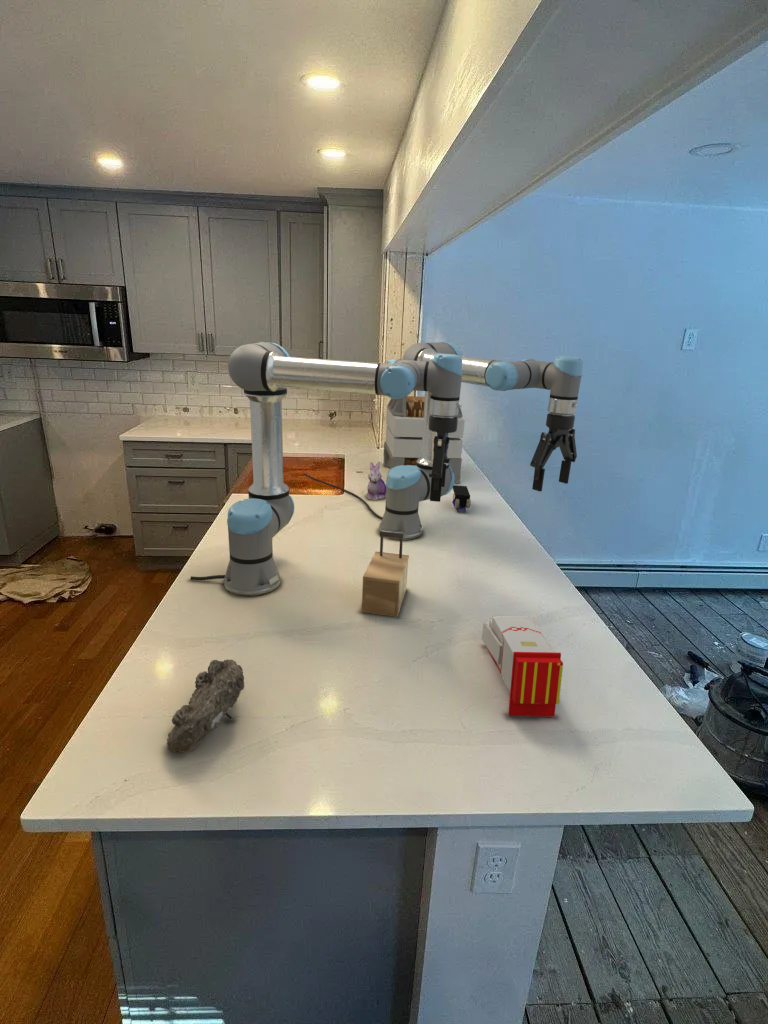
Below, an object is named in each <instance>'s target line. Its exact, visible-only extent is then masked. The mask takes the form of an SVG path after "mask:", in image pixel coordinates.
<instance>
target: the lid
mask: <svg viewBox="0 0 768 1024" xmlns="http://www.w3.org/2000/svg"><path fill="white" fill-rule="evenodd" d="M379 537H380V538H379V539H380V541H379V543H380V544H379V551H374V554H373V556H372V558H371V560H370V561H369V564H368V566H367V568H366V570H365V572H364V573H363V576H362V580H363V579H364V580H372V581H380V582H388V583H396V584H400V581H401V578H402V575H403V572H404V570H405V567H406V564H407V561H408V562H409V557H410V555H409V554H403V545H404V544H403V543H404V540H403V538H404V532H400V531H390V530H380V532H379ZM384 538H387V539H390V538H395V539H400V540H399V551H398V553H393V552H384ZM395 539H394V540H395Z"/></svg>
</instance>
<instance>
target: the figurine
mask: <svg viewBox="0 0 768 1024" xmlns="http://www.w3.org/2000/svg"><path fill="white" fill-rule="evenodd" d="M381 463H382V462H381V461H378V462H376V464H375V465H374V463H373V462H372V461H371V462H370V463H369V473H368V476H367V477H368V480H369V481H368V483H367V493H366V497H367V499H368V500H371V501H377V500H382V499H383V500H384V499H386V481H384V480H383V479H382V477H383V475H382V473H381V471H380V469H381V465H382V464H381Z"/></svg>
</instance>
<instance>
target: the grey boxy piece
mask: <svg viewBox="0 0 768 1024" xmlns="http://www.w3.org/2000/svg"><path fill="white" fill-rule="evenodd" d="M424 401H425V396H415V395H414V396H413V395H412V396H411V395H408V396H406V397H404V398H401V399H393V398H390V400H389V402H388V404H387V405H386V413H385V414H386V415H385V423H386V428H385V438H384V442H383V466H384V467H388V468H389V470H390V469H392V468H394V467H396V466H401V465H404V466H405V465H413V466H416V462H417V460H418V459H419V458H420V457H421V451H422V434H423V418H424ZM458 404H460V402H459V403H458ZM458 409H459V410H458V415H457V416H456V417H457V418H458V424H457V431H456V432H453V433H448V437H450V440H449V446H448V449H447V460H449V466H450V467H451V468H452V470H453V471H452V472H453V473H454V478H455V480H454V484H455V483H456V484H459V483H461V472H462V461H463V460H462V453H463V442H464V441H463V440H462V439H463V438H464V431H465V430H464V429H465V419H464V418H463V411H462V407H460V408H458Z"/></svg>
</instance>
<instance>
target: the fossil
mask: <svg viewBox="0 0 768 1024" xmlns="http://www.w3.org/2000/svg"><path fill="white" fill-rule="evenodd" d="M243 670H244V669H243V667H242V665H240V664H237V662H236V661H235V660H234V659H232V658H231V659H227V658H226V659H224V660H223V661H222V660H217V659H212V660H211V661H210V663H209V665H208V666H207V671H201V672H199V673H198V674H197V675H196V676H195V680H194V684H195V685H194V687H195V689H194V690H193V693H192V694H191V697H190V698H189V700H188V704H184V705H182V706H181V707H180V709H177V710H176V711H175V713H174V715H173V716H172V718H171V723H172V724H173V727H172V730H171V731H170V732H168V734H167V738H166V741H167V742H166V745H167V749H168V750H169V751H173V752H174V753H176V754H178V753H182V752H188V751H189V752H192V751H193V750H195V748H196V747H197V746H199V744H200V743H201V742H203V741H204V740H205V739H206V738H207V737H208V736H209V735H210V734H211V733H212V732H214V730H215V729H217V727H218V726H219V724H220V722H221V721H222V720H223V719H224V718H225V716H226V717H227V719H229V720H233V717H232V715H230V714H229V710H230V709H231V708H234V706H235V704H236V703H237V702H238V699H239V697H240V695H241V693H242V691H243V690H245V689H244V688H245V675H244V671H243Z"/></svg>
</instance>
